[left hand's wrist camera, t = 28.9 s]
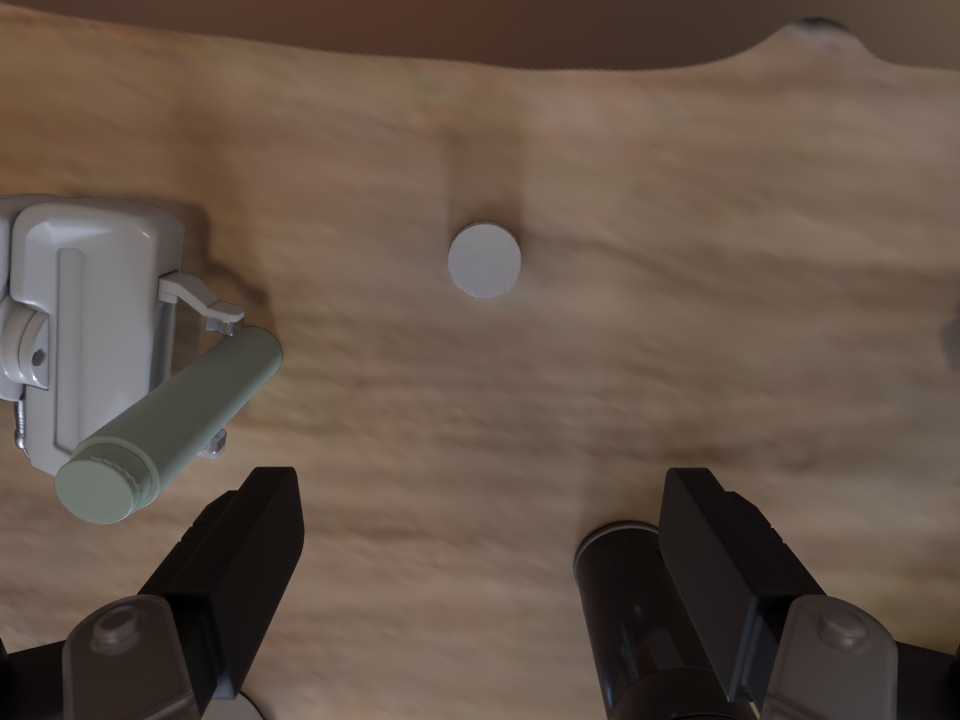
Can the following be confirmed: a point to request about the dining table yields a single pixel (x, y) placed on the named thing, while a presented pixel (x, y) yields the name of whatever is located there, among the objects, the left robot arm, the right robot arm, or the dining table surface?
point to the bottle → (165, 429)
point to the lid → (484, 259)
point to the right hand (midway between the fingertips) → (231, 386)
